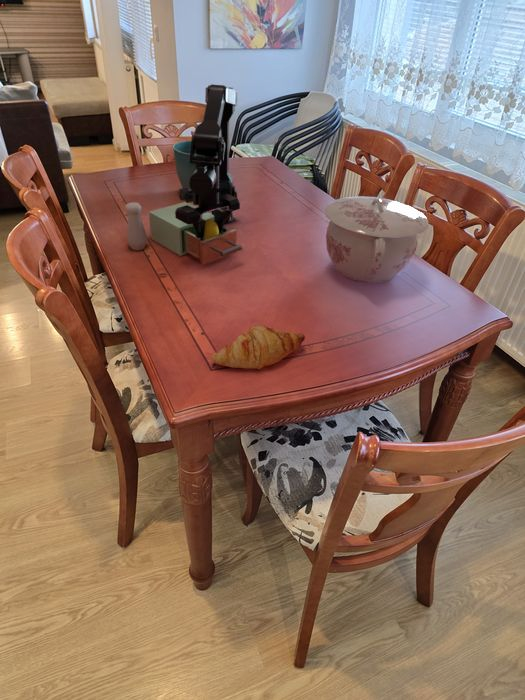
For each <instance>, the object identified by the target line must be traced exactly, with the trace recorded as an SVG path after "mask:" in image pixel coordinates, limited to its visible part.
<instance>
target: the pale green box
mask: <svg viewBox="0 0 525 700" xmlns="http://www.w3.org/2000/svg"><path fill="white" fill-rule="evenodd" d="M186 205H188V206H190V207H192V208H197V207H198V206H197V205H194V204H192V203H190V202H188V203H186V201H182V202H179V203H176V204H172V205H169V206H165V207H162V208H161V207H160V208H158V209H154V210H151V211H148V218H149V220H148V221H149V228H150V229H149V230H150V239H151V240H152V241H154V242H155V243H157V244H158V245H160V246H163V247H164V248H166V249H167V250H168V251H171V252H173V253H174V254H176V255H178V256H179V257H182V256H185V255H189V254H188V253H187V252H185V251H183V250H182V233H181V230H182V229H185V228H189V227H192V226H193V224H186V223H184V222H182V221H180V220H178V219H176V218H175V211H176V209H177V208H179V207H183V206H186ZM202 219H203V220H207V219H210V220H213V221H214V215H212V213H210V212H207V213H204V214H203V215H202Z"/></svg>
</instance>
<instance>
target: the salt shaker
mask: <svg viewBox="0 0 525 700" xmlns="http://www.w3.org/2000/svg"><path fill="white" fill-rule="evenodd" d="M125 212H126V213H127V214H128V215H127V229H126V230H127V231H126V242H127V244H128V246H129V247H130V248H131V250H133V251H140V250H141V251H142V250H144V249H145V247H146V246H147V243H148V236H147V233H146V229H145V226H144V223H143V219H142V215H141V213H142V205H141V204H140V203H139V202H136V201H135V202H134V201H133V202H128V203H127V204H125Z"/></svg>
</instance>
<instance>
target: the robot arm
mask: <svg viewBox="0 0 525 700" xmlns="http://www.w3.org/2000/svg"><path fill="white" fill-rule="evenodd" d="M204 99H205V100H204V101H205V103H206V104H205V109H204V114H203V118H202V122H200V123H199V124H198V125H196V127H195V130H194V134H192V135H191V139H190V140H191V151H190V163H193V164H196V169H195V171H194V173H193V175H192V176H191V178H190V181H189V185H190V188H191V190H188V188H182V187H181V188H179V189H178V196H179V200H180V201H181V202H186V203H192V205H193V206H196V207H197V208H192V207H190V206H188V205H186V206H183V207H179V208H177V209H176V211H175V218H176V219H178V220H180V221H182V222H184V223H186V224H193V226H194V228H195V231H196V233H197V235H198V237H200V238H201V240H203V238H204V231H205V224H206V221H205V220H203V219H202V215H203V214H204V213H207V212H208V213H210V212H211V214H212V215H214V222H215V223H216V224H217V226H218V229H219V233H220V231H221V229H222V228H223V226H224V227H225V225H227V224H229V223H233V222H235V221H236V218H234V217H233V213H234V212H235V211H238V210H240V209H241V201H240V200H239V198H238V191H237V189H236V185H235V186H234V178H233V176H232V174H231V172H230V170H229V169H230V120H231V119H232V117H233V114H234V112H235V111H236V107H237V105H238V92H237V90H236V89H234V87H229V86H226V85H224V84H212V83H211V84H209V85H207V87H205V98H204ZM195 150H196V155H202V156H203V157H201V156H194V155H195Z"/></svg>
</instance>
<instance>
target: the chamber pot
mask: <svg viewBox="0 0 525 700" xmlns="http://www.w3.org/2000/svg"><path fill="white" fill-rule="evenodd" d="M323 211H324V214H325V217H326V218H327V219H328V220H329V223H328V224H327V227H326V233H325V243H326V244H325V245H326V252H327V254H328V256H329V258H330V260H331V263H332V266H333V267H334V268H335V269H336V271H338V272H339V273H340V274H341V275H342V276H345V277H347V278H348V279H351V280H353V281H357V282H362V283H374V284H375V283H376V284H377V283H382V282H387V281H389V280H391V279H393V278H395V277H397V275H398V274H399V273H401V272H403V270H404V269H405V268H406V267H408V265H409V264H410V262H411V260H412V259H413V257H414V255H415V252H416V250H417V247H418V242H419V235H420V234H423V233H424V232H425V231H426V230H427V229H428V228H429V219H428V218H427V217H426V216H425V215H424V213H423V212H422V211H420V210H418V209H416V208H415V207H413V206H410V205H408V204H406V203H403V202H399V201H395V200H392V199H388V198H384V197H377V196H364V195H363V196H362V195H359V196H358V195H355V196H346V197H341V198H337V199H334V200H332V201H330V202H329V203H327V204H326V205H325V207H324V209H323Z"/></svg>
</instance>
